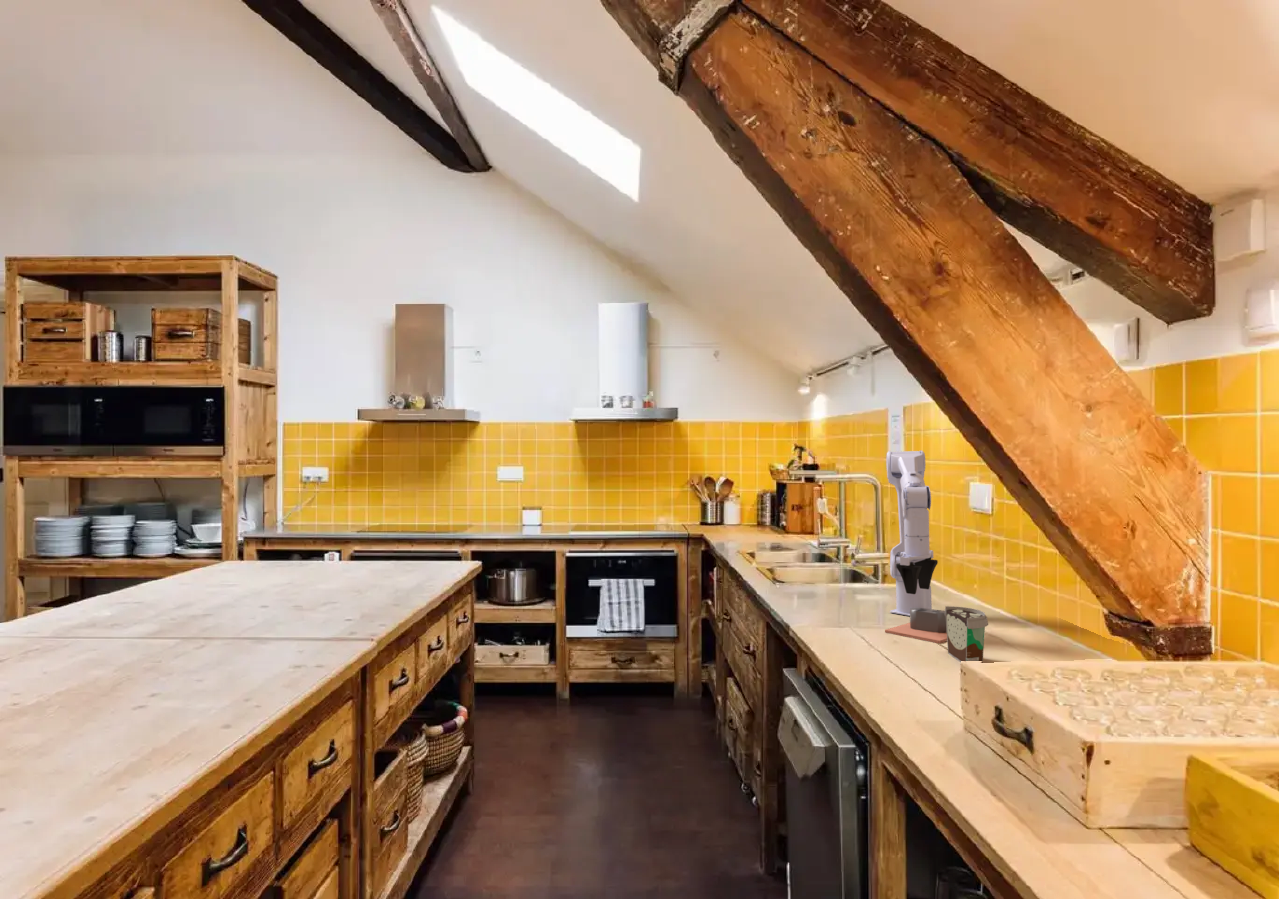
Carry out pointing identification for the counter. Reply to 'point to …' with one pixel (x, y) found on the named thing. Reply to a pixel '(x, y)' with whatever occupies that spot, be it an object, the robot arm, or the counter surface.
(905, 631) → the mat
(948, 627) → the food container
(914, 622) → the plug
